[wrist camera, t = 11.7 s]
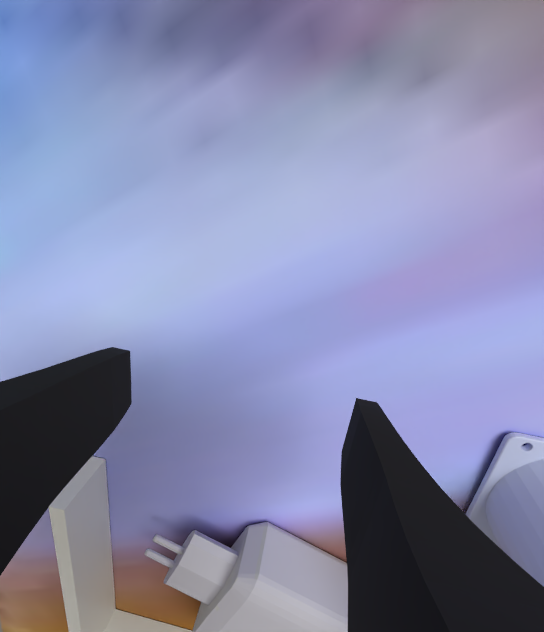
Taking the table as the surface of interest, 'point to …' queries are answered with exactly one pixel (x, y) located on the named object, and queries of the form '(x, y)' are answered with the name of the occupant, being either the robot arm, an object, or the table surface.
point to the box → (91, 556)
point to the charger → (259, 582)
